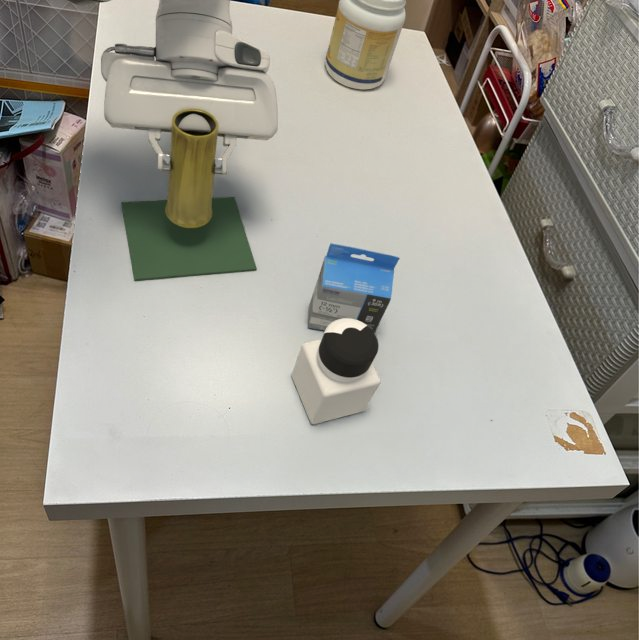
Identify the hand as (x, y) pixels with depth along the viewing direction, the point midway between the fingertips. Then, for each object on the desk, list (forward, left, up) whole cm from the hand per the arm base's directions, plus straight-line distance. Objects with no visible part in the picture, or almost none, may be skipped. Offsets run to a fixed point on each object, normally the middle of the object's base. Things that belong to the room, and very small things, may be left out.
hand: (192, 172), depth 73 cm
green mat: (0, +1, -12) cm, 12 cm away
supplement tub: (+39, +41, -12) cm, 58 cm away
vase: (0, +1, -8) cm, 8 cm away
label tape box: (+17, -16, -12) cm, 27 cm away
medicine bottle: (+12, -26, -12) cm, 31 cm away
